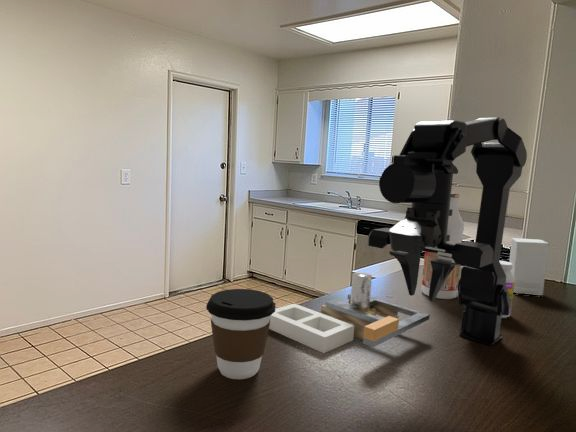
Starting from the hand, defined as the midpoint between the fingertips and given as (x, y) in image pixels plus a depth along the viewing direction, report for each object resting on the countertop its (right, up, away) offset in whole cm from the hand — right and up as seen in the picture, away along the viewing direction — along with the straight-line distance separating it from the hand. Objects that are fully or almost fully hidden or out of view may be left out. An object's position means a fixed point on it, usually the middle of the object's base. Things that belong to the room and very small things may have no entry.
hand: (421, 297), depth 69 cm
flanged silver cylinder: (-7, -10, +22) cm, 25 cm away
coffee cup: (-30, -12, 0) cm, 32 cm away
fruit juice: (+20, -9, +48) cm, 52 cm away
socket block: (-7, -10, +22) cm, 25 cm away
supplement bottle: (+29, -11, +34) cm, 45 cm away
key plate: (-7, -7, +15) cm, 18 cm away
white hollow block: (-18, -10, +16) cm, 26 cm away
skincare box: (+47, -9, +54) cm, 72 cm away
